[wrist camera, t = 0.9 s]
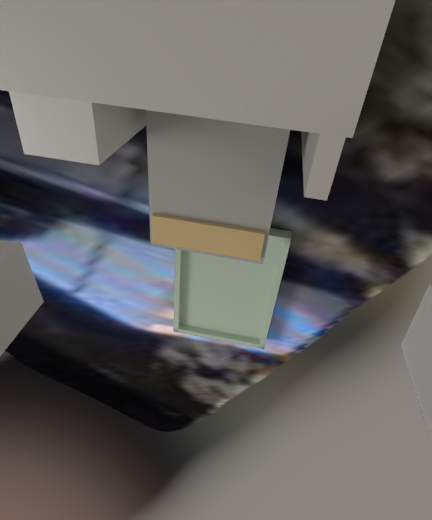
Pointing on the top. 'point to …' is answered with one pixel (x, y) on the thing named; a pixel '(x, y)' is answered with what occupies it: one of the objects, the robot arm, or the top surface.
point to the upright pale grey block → (213, 184)
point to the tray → (229, 293)
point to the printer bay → (189, 70)
